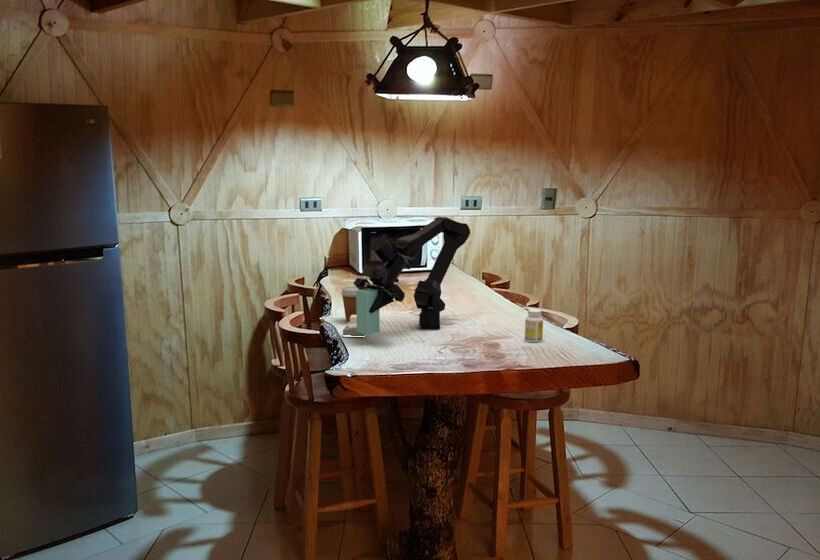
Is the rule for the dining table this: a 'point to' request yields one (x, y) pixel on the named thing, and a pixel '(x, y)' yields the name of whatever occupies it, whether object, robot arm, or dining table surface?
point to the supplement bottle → (534, 326)
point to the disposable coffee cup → (349, 301)
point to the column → (367, 312)
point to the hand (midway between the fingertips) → (364, 311)
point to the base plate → (352, 327)
